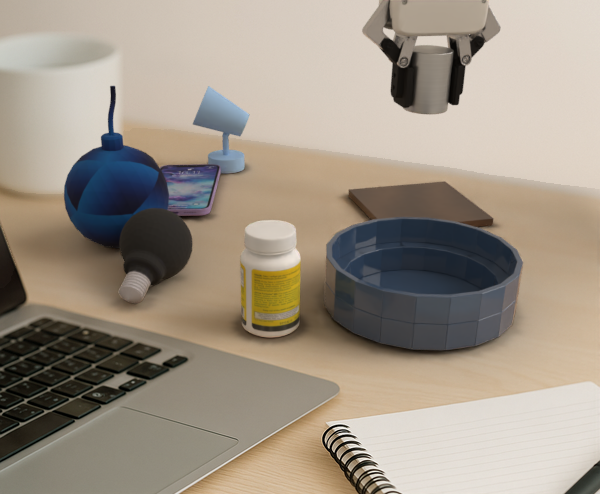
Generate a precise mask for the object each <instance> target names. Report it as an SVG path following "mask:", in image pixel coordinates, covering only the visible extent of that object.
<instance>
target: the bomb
mask: <svg viewBox="0 0 600 494" xmlns="http://www.w3.org/2000/svg"><path fill="white" fill-rule="evenodd" d="M109 91H110V98H109V99H110V100H109V108H108V113H107V128H108V130H107V132H105V133H103V134H102V135H100V145H101V146H98V147H95V148H92V149H91V150H89V151H87V152H86V153H84V154H83V155H81V156H80V157H79V158H78V159H77V160H76V161H75V162H74V163H73V165H72V167H71V168H70V170H69V171H68V173H67V176H66V178H65V183H64V187H63V188H64V189H63V191H64V192H63V198H64V199H63V201H64V206H65V211H66V214H67V216H68V218H69V221H70V222H71V223H72V225H73V227H74V228H75V229H76V230H77V231H78V232H79V233H80V234H81V235H82V236H83V237H84V238H86V239H88V240H89V241H91V242H93V243H95V244H97V245H100V246H102V247H105V248H113V249H120V246H119V242H120V235H121V232H122V229H123V227H124V225H125V224H126V222H127V221H128V220H129V219H130V218H131V217H132V216H133V215H135V214H136V213H138V212H140V211H142V210H145V209H149V208H162V209H166V210H168V204H169V191H168V186H167V182H166V179H165V177H164V174H163V172H162V171H161V169H160V167H159V164H158V163H157V162H156V160H155V159H154V157H153V156H151V155H149V154H148V153H147V152H146V151H143V150H141V149H139V148H135V147H132V146H129V145H124V137H123V135H122V134H121V133H119V132H115V129H114V114H115V108H116V102H117V91H116V85H110V86H109Z"/></svg>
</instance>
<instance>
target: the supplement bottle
mask: <svg viewBox="0 0 600 494" xmlns="http://www.w3.org/2000/svg"><path fill="white" fill-rule="evenodd" d="M243 237H244V238H243V239H244V240H243V241H244V248H243V250H242V251H241V253H240V256H239V257H240V258H239V266H240V267H239V272H240V275H239V277H240V311H241V312H240V313H241V314H240V316H241V325H242V328H243V329H244V330H245V331H246V332H249V333H250V334H252V335H254V336H257V337H262V338H280V337H284V336H287V335H289V334H292V333H293V332H295V331H296V330H297V329H298V327H299V326H300V321H301V270H302V269H301V265H302V264H301V263H302V262H301V260H302V259H301V258H302V257H301V254H300V252H299V250H298V249H297V248H296V247H297V243H298V240H297V228H296V226H295V225H294V224H293V223H290V222H288V221H285V220H279V219H261V220H256V221H254V222H251V223H249V224H248V225H246V226H245V227H244V236H243Z"/></svg>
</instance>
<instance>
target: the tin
mask: <svg viewBox="0 0 600 494" xmlns="http://www.w3.org/2000/svg"><path fill="white" fill-rule="evenodd" d="M453 53H454V51H453V50H452V49H450V48H448V46H447V47H446V46H441V45H433V44H431V45H430V44H419V45H415V47H414V50H413V53H412V56H411V59H410V67H411V68H413V69H414V77H413V88H412V100H411V106H409V108H403V107H402V109H403V110H404V111H406V112H409V113H413V114H418V115H439V114H444V113H446V112H447V111H448V108H449V103H448V100H449V91H450V81H451V72H452V62H453Z"/></svg>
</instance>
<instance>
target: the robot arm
mask: <svg viewBox="0 0 600 494" xmlns="http://www.w3.org/2000/svg"><path fill="white" fill-rule="evenodd" d="M384 29H388V30H390V31H391V30H392V31H393V32H394V35H393V39H391V38H390V37H389V36H388V35H386V34H385V32H384ZM361 30H362V31H361V32H362V34H363V35H364V37H366V38H367V39H368V40H369V41H370V42H372V43H373V44H375V45H376V46H377V47H378V48H379V50H381V52H382V53H383V54H384V55H385V56H386V57H387V59H388V61H389V62H390V63H392V65H391V79H390V96H391V98H393V100H392V101H393V103H394V104H397V105H398V106H399V107H401V108H402V109H403V108H409V106H411V100H412V88H413V77H414V69H413V68H411V67H410V59H411V56H412V53H413V50H414V47H415V46H416V43H417V40H418V37H443V36H444V37H445V36H446V41H447V42H446V43H447V48H450V49H452V50H453V51H454V53H453V62H452V72H451V81H450V91H449V100H448V105H451V106H459V104H460V96H461V95H462V94H463V92H464V84H465V75H466V74H465V73H466V67H467V66H469V65H470V64H471V63H472V59H473V57H474V56H475V55H476V54H477V53H478V52H479V51H480V50H482V48H483V47H484V46H485V44H486V43H488V42H489V41H491V39H493V38H495V37H496V36H497V35H498V34H499V33H500V31H501V25H500V23H499V21H498V19H497V17H496V15H495V13H494V11H493V10H492V8H491V5H490V0H378V6H377V8H376V9H375V10H374V11H373V13H372V15H371V16H370V17H369V19H368V20H367V22H365V24H364V25H363V27H362V29H361Z"/></svg>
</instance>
